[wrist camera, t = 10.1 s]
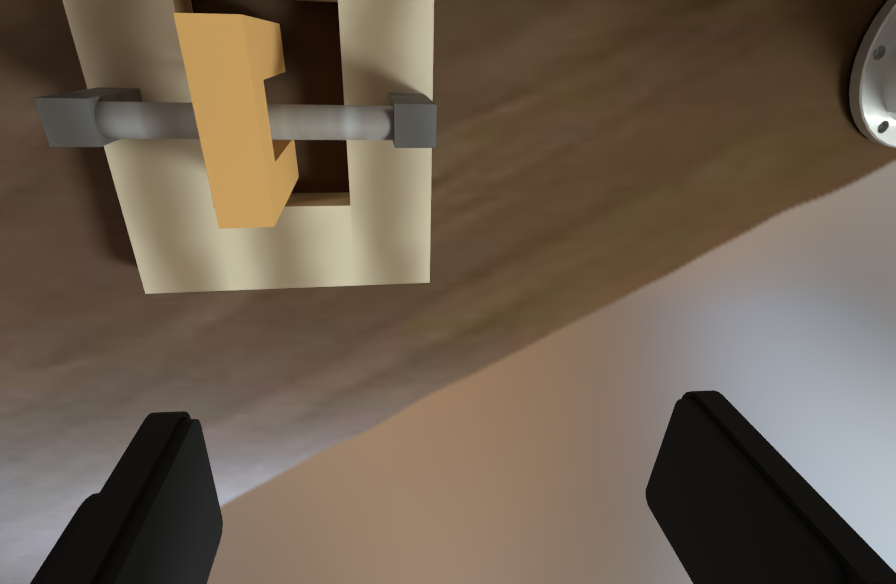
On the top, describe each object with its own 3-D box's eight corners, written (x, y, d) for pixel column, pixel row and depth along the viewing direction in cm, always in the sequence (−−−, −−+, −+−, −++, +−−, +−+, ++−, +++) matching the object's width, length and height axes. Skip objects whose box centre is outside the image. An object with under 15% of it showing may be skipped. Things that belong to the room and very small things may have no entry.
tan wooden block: (279, 23, 26) (241, 14, 18) (298, 176, 30) (274, 226, 22) (233, 22, 26) (173, 12, 18) (258, 177, 30) (218, 228, 22)
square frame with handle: (428, -67, 27) (453, -110, 19) (424, 264, 36) (440, 323, 28) (67, -92, 24) (-66, -154, 17) (162, 273, 33) (104, 340, 26)
